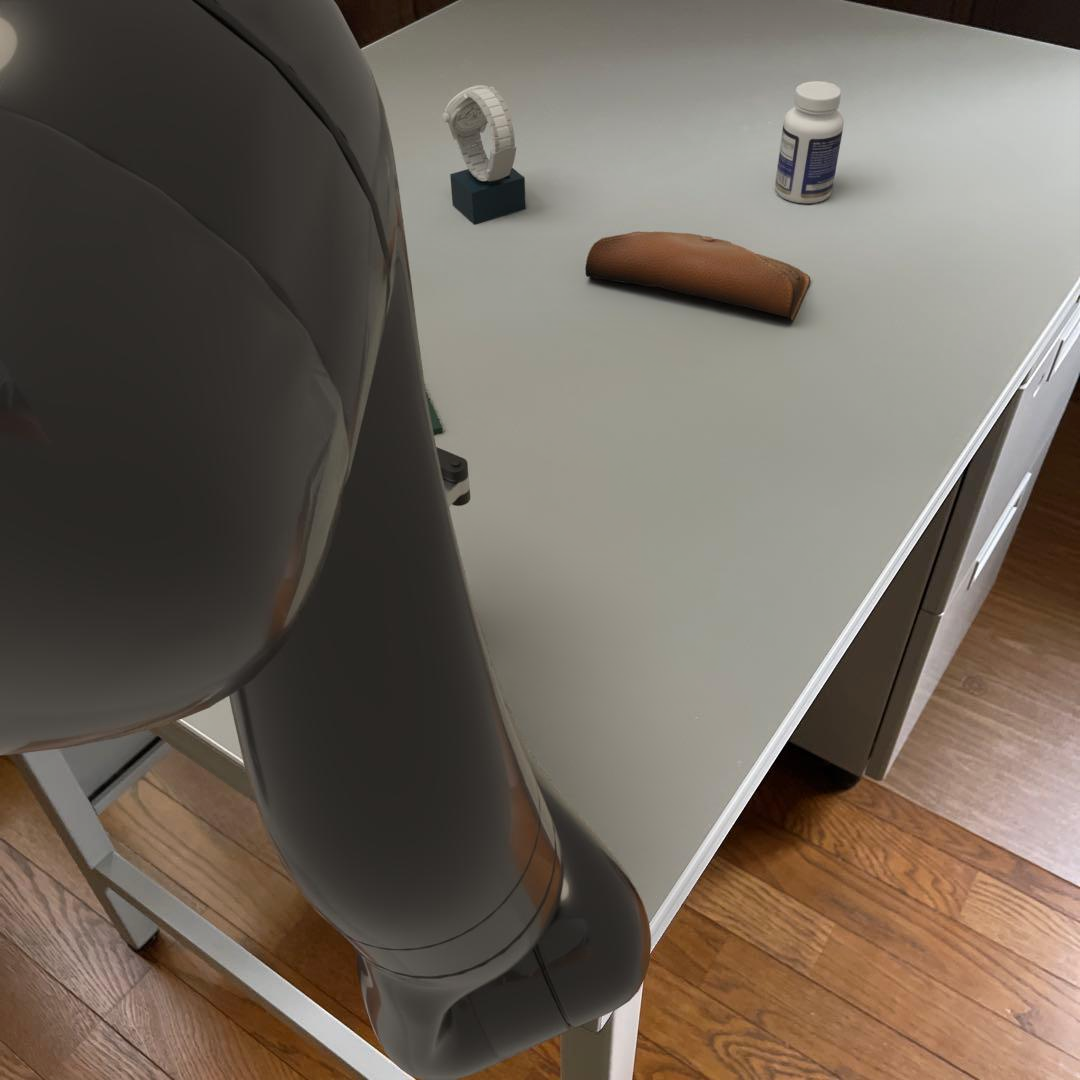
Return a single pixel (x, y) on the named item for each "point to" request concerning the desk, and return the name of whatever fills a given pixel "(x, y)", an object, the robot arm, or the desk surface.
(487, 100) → the watch
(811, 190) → the pill bottle
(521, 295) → the desk surface
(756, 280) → the sunglasses case
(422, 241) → the desk surface
